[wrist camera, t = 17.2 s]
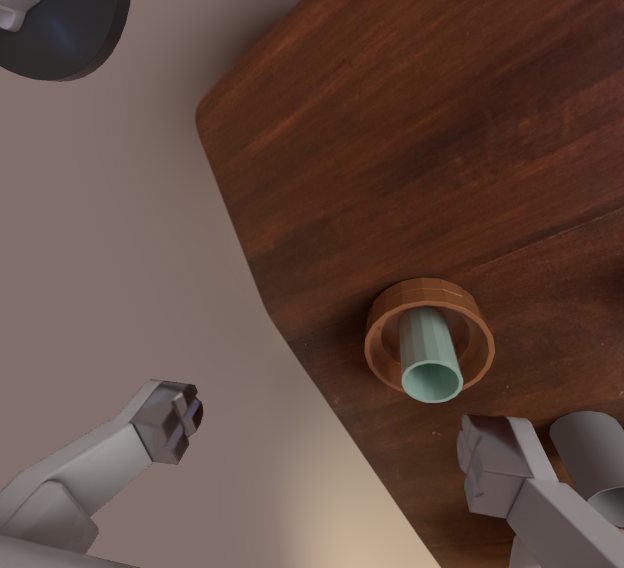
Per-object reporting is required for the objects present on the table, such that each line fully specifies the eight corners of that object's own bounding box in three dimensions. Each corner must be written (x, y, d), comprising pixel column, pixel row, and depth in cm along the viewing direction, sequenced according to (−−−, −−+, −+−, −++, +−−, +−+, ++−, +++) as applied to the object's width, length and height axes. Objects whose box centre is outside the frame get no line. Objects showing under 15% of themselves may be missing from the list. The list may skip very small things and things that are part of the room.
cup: (535, 432, 47) (568, 504, 38) (584, 402, 42) (633, 476, 34) (582, 457, 47) (626, 534, 39) (635, 430, 43) (697, 510, 34)
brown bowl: (353, 342, 46) (348, 372, 41) (392, 259, 38) (392, 283, 33) (446, 376, 45) (453, 410, 40) (504, 298, 38) (522, 328, 33)
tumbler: (391, 334, 43) (392, 390, 34) (410, 299, 40) (416, 352, 31) (433, 349, 43) (445, 409, 34) (455, 316, 39) (474, 373, 31)
